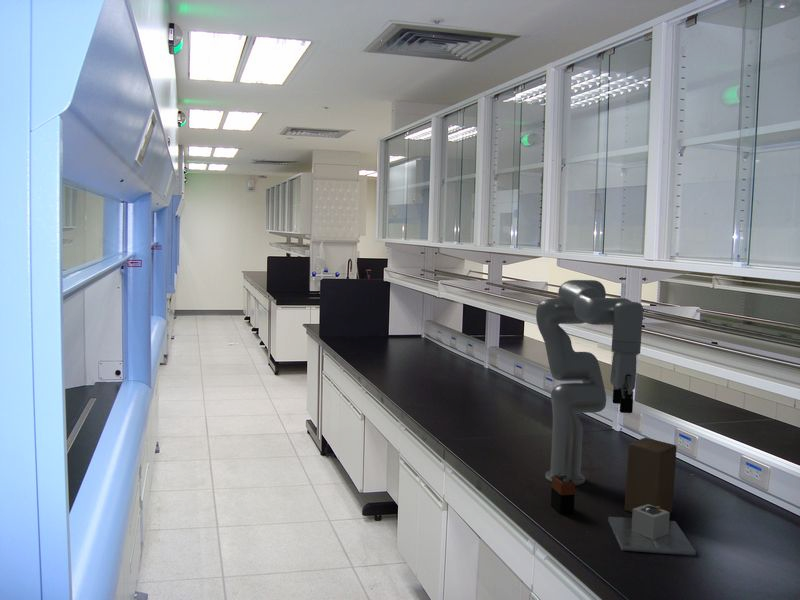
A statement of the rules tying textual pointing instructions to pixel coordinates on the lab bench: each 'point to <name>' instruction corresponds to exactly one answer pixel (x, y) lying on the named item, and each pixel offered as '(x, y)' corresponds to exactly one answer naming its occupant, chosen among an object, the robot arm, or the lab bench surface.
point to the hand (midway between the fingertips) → (622, 407)
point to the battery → (562, 493)
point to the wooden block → (650, 474)
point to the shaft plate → (640, 543)
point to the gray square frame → (650, 522)
